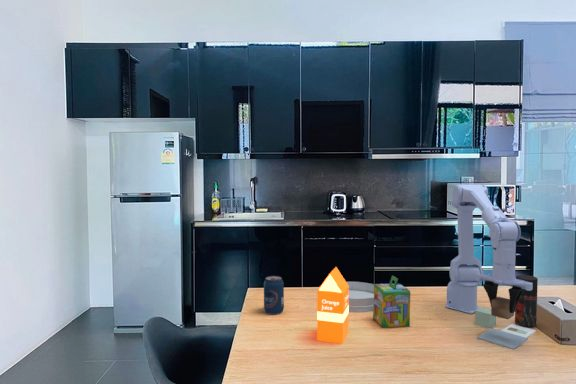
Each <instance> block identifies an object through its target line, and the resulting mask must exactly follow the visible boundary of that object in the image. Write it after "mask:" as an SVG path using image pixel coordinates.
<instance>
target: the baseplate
mask: <svg viewBox="0 0 576 384" xmlns="http://www.w3.org/2000/svg"><path fill="white" fill-rule="evenodd" d="M477 339H479V340H482V341H485V342H489V343H492V344H494V345H495V344H496V345H499V346H502V347H505V348H508V349H512V350H515V349H517V348H518V347H519V346H521V345H522V344H523V343H525V342H526V341H527V340H528V337H527V338H525V337H522V336H518V335H514V334H511V333H507V332H504V331H501V330H499V329H495V328H493V327H491V328H489V329H488V330H487V331H485V332H484V333H481V334H480V335H478V336H477Z"/></svg>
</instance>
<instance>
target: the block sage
mask: <svg viewBox="0 0 576 384" xmlns="http://www.w3.org/2000/svg"><path fill="white" fill-rule="evenodd" d="M474 313H475V315H474V324H475V325H476V326H480V327H484V328H487V329H492V328H493V327H495V326H496V325H497V317H496V316H493V315H491V309H489V308H485V307H481V308H480V309H478V310H476V311H475V312H474Z"/></svg>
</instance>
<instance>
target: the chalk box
mask: <svg viewBox="0 0 576 384" xmlns="http://www.w3.org/2000/svg"><path fill="white" fill-rule="evenodd" d="M398 280H399V278H397V277H396V276H394V275H391V277H390V280H389V283H375V284H374V283H373V284H374V308H373V311H372V317H373V318H374V320H375V321H376V322H377V323H378V324H379V325H380V326H381V327H382V329H383V328H396V327H397V328H399V327H400V328H401V327H403V328H404V327H410V324H411V321H410V320H411V318H410V317H411V316H410V314H411V290H409V289H408V287H405V286H404V285H403V284H401V283H398ZM393 281H394V283H393Z"/></svg>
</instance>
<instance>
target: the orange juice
mask: <svg viewBox="0 0 576 384" xmlns="http://www.w3.org/2000/svg"><path fill="white" fill-rule="evenodd" d="M347 282H348V281H346V279H345V278H344V277H343V275H342V274H341V272H340V270H339V269H338V266H335V267H334V268H333V269H332V270H331V271H330V273H328V275H327V277H326V278H325V279H324V281H323V282H322V284H321V285H319V288H318V289H317V290H316V292H317V293H316V296H317V297H316V301H317V302H316V303H317V304H316V306H317V307H316V309H317V310H316V321H317V325H316V326H317V327H316V332H317V334H316V337H317V341H321V342H326V343H327V342H328V343H334V344H344V343H345V340H346V339H347V336H348V334H349V331H350V330H349V328H350V326H349V322H350V320H349V319H350V318H349V315H350V314H349V313H350V312H349V289H350V288H349V285H348V284H347Z"/></svg>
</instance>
